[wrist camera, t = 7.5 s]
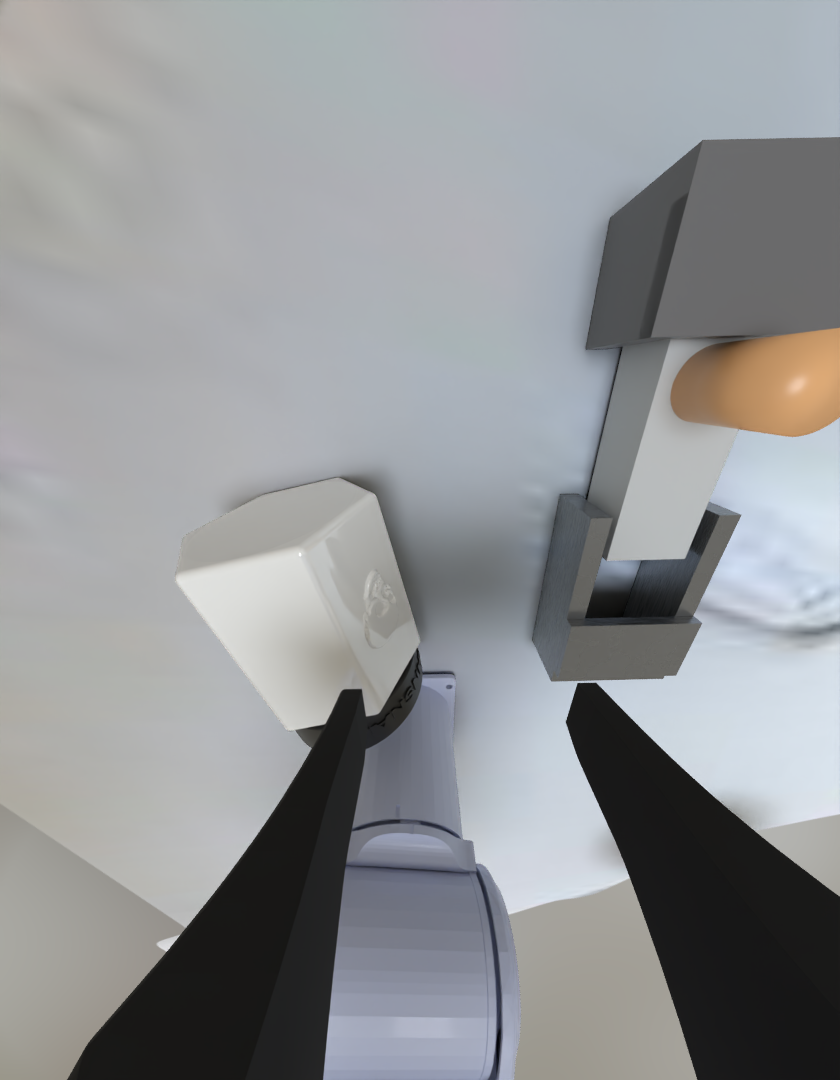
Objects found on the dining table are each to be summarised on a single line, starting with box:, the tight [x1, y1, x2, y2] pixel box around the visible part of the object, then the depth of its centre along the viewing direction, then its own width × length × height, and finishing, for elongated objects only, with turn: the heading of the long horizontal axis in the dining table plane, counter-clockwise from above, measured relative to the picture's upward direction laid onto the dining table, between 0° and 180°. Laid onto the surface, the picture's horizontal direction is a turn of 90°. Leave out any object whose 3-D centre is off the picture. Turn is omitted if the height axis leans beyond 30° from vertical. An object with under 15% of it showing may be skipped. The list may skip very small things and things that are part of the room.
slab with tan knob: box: [587, 328, 840, 561], centre depth 13 cm, size 13×4×7 cm, turn 1°
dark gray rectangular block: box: [586, 137, 840, 350], centre depth 11 cm, size 4×7×4 cm, turn 91°
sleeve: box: [533, 494, 741, 681], centre depth 18 cm, size 11×7×4 cm, turn 1°
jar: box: [175, 478, 422, 749], centre depth 17 cm, size 9×8×12 cm
